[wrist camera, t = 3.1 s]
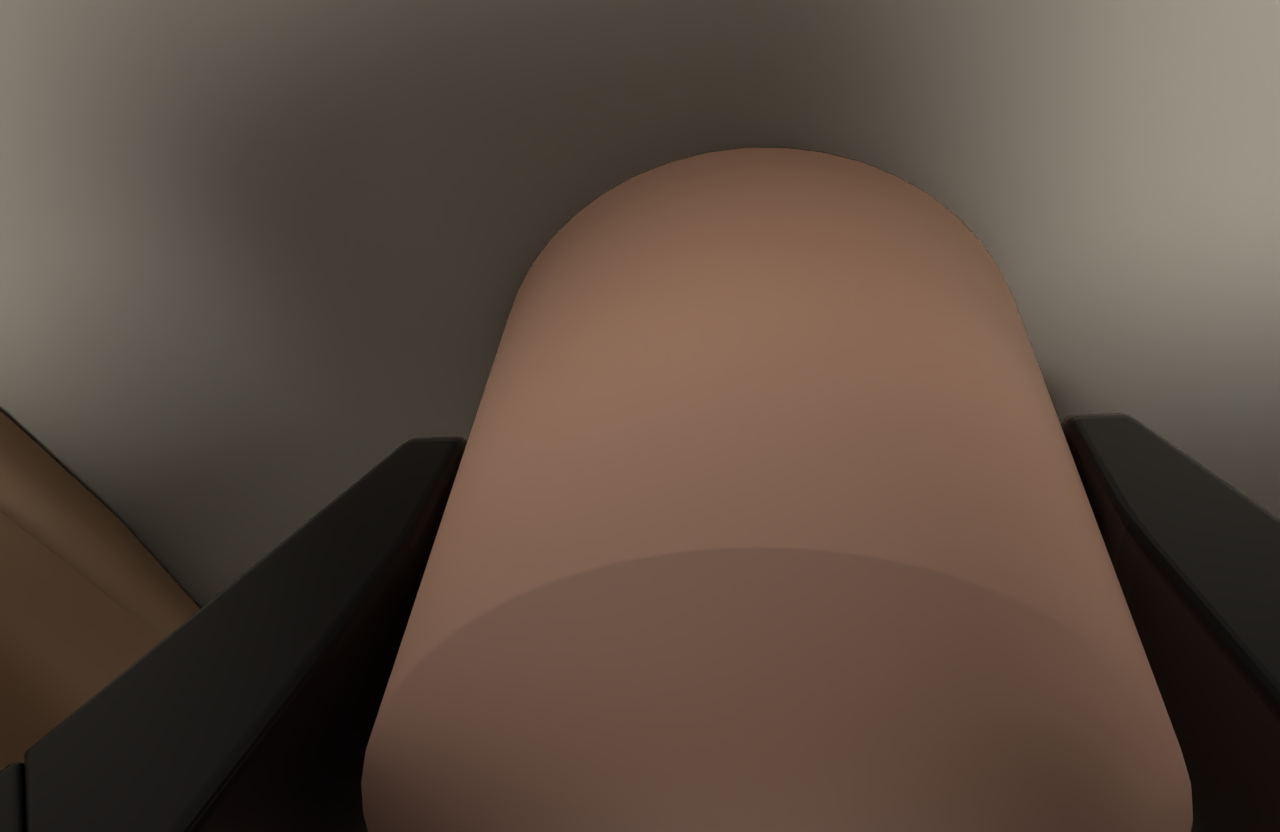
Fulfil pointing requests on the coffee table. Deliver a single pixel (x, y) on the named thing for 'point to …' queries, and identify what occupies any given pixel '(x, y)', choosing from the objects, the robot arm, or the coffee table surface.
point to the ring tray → (67, 595)
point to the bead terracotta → (769, 542)
